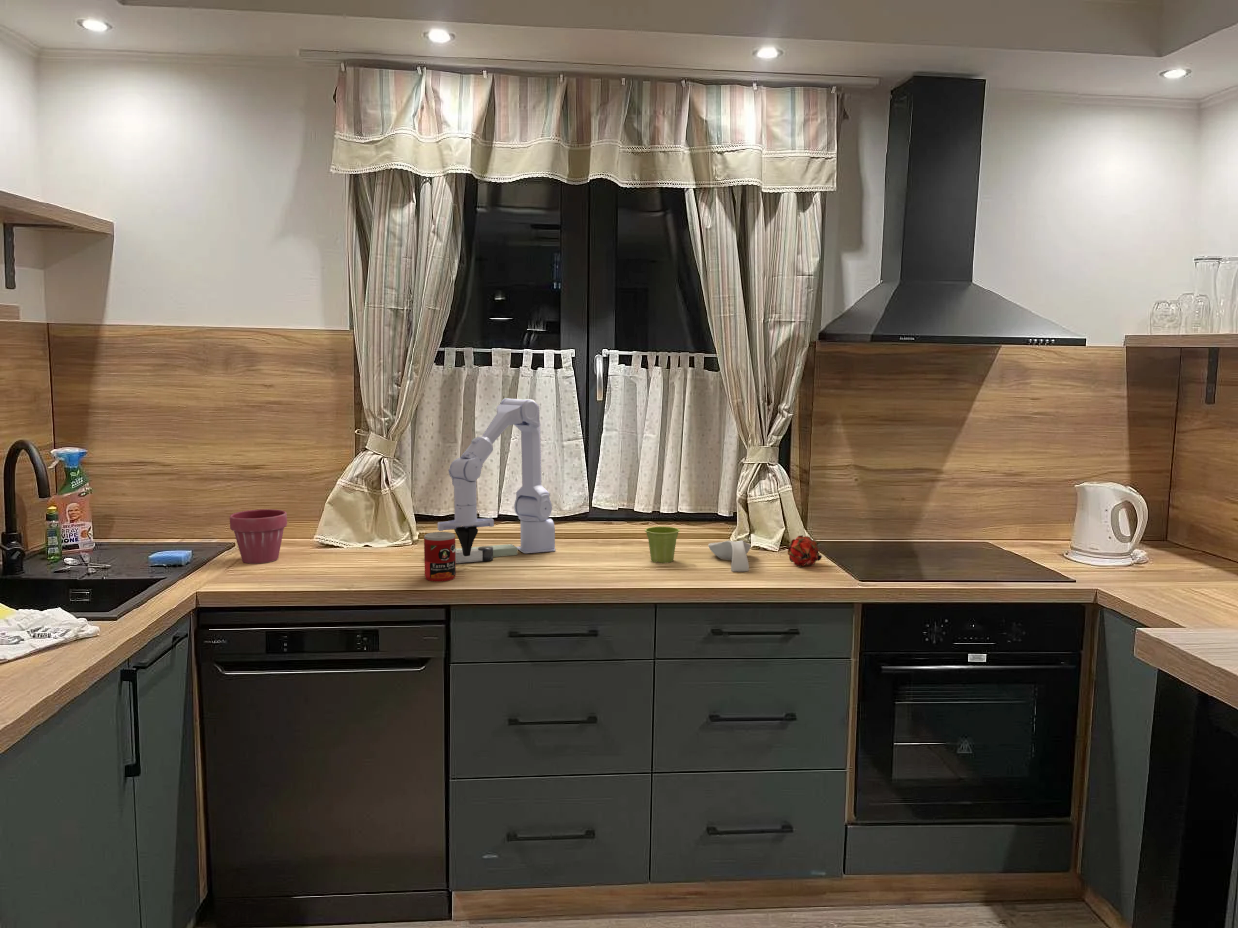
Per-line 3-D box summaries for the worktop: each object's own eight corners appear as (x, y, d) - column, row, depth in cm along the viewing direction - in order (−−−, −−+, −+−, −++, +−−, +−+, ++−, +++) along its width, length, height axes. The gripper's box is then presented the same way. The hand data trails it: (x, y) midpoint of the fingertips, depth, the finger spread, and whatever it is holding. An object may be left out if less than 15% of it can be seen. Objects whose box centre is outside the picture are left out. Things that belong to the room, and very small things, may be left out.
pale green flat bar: (511, 550, 264) (511, 544, 264) (517, 554, 259) (517, 547, 259) (427, 558, 254) (427, 550, 254) (431, 562, 249) (431, 554, 249)
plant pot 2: (653, 565, 247) (653, 533, 246) (639, 558, 256) (639, 527, 255) (685, 563, 250) (685, 531, 249) (670, 556, 259) (670, 525, 258)
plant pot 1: (229, 567, 241) (227, 519, 240) (233, 556, 255) (231, 510, 253) (288, 564, 246) (286, 516, 244) (288, 553, 259) (287, 507, 258)
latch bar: (490, 557, 255) (490, 545, 255) (494, 560, 251) (494, 548, 251) (438, 561, 249) (438, 550, 249) (441, 564, 245) (441, 553, 245)
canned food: (429, 583, 227) (429, 539, 226) (420, 576, 234) (420, 533, 233) (460, 579, 230) (459, 536, 229) (450, 573, 237) (449, 530, 236)
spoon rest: (705, 553, 264) (705, 528, 263) (746, 553, 265) (746, 528, 264) (718, 573, 241) (719, 545, 240) (763, 572, 241) (764, 545, 240)
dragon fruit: (804, 565, 256) (807, 581, 245) (779, 547, 256) (781, 563, 244) (823, 542, 254) (828, 558, 242) (798, 524, 253) (802, 539, 242)
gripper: (488, 500, 248) (489, 549, 250) (434, 503, 243) (435, 554, 244) (495, 504, 242) (496, 555, 244) (440, 508, 236) (441, 560, 238)
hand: (466, 555), depth 244 cm, fingers closed
